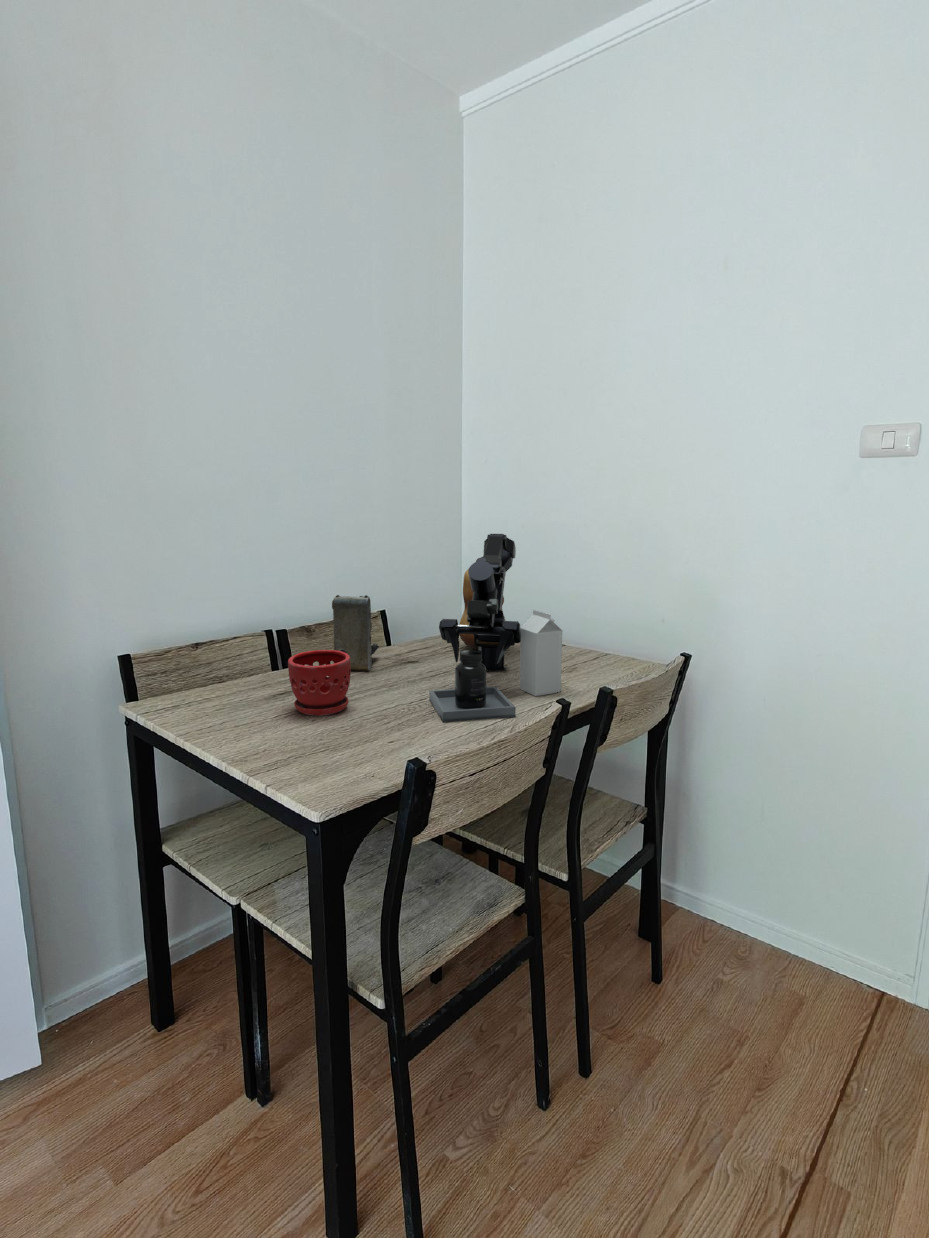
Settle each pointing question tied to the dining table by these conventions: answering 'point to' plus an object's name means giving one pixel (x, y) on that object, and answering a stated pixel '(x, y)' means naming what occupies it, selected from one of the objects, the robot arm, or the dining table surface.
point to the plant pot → (320, 681)
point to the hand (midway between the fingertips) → (476, 662)
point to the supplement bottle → (470, 680)
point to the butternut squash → (467, 596)
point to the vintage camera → (354, 630)
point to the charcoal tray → (451, 712)
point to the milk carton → (540, 655)
